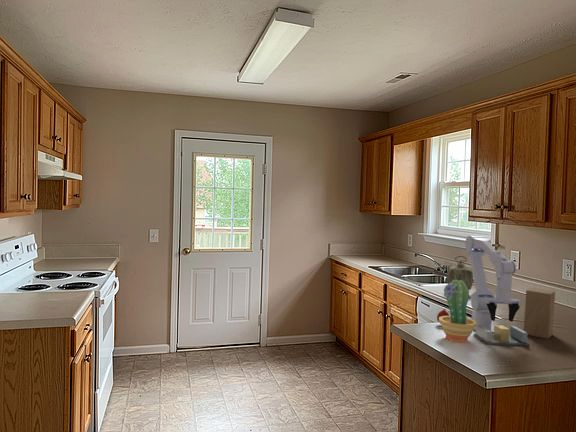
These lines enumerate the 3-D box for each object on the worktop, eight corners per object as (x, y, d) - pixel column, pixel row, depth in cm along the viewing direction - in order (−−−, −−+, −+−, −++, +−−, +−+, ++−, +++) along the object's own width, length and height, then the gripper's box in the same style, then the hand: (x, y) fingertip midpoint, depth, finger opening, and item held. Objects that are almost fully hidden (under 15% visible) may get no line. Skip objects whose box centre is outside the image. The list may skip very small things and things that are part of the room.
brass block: (493, 336, 195) (494, 325, 195) (501, 336, 195) (502, 325, 195) (500, 340, 189) (501, 329, 189) (508, 341, 189) (509, 329, 189)
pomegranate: (434, 325, 213) (435, 308, 213) (440, 323, 217) (441, 306, 217) (446, 328, 209) (447, 310, 209) (451, 326, 213) (452, 309, 213)
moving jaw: (509, 335, 197) (510, 326, 197) (514, 335, 197) (515, 326, 197) (522, 342, 187) (522, 332, 187) (527, 342, 187) (527, 332, 187)
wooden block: (528, 329, 212) (530, 287, 211) (552, 334, 205) (555, 291, 205) (523, 334, 204) (525, 290, 203) (548, 339, 198) (551, 293, 197)
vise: (473, 335, 198) (474, 324, 198) (514, 337, 198) (514, 326, 198) (486, 344, 186) (486, 332, 186) (529, 346, 186) (530, 334, 186)
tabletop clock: (469, 294, 293) (471, 255, 292) (472, 297, 284) (475, 257, 283) (445, 292, 295) (448, 254, 294) (448, 295, 286) (451, 256, 285)
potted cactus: (434, 332, 201) (437, 276, 200) (470, 334, 199) (473, 278, 198) (441, 343, 186) (445, 282, 185) (481, 346, 184) (484, 284, 183)
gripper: (491, 290, 187) (489, 322, 188) (525, 291, 188) (523, 323, 188) (483, 286, 194) (481, 318, 195) (516, 288, 195) (514, 319, 195)
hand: (501, 320), depth 192 cm, fingers open, 7 cm apart
